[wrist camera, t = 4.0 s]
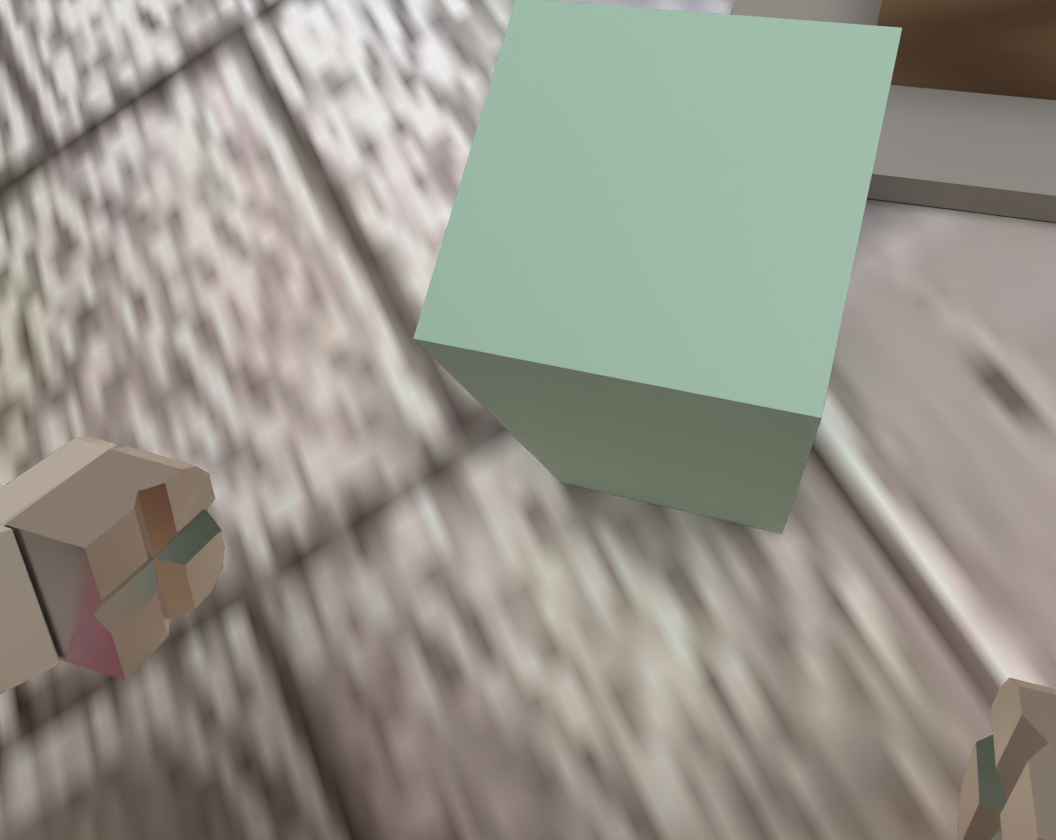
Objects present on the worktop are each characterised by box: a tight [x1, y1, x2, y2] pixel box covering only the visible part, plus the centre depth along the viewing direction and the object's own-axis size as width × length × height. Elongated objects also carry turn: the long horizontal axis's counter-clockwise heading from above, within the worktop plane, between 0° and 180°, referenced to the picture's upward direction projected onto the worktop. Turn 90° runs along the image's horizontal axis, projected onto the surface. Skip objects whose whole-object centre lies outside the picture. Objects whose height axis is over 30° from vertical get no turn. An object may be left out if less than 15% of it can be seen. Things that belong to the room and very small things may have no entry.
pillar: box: [413, 0, 902, 534], centre depth 14 cm, size 4×4×9 cm
